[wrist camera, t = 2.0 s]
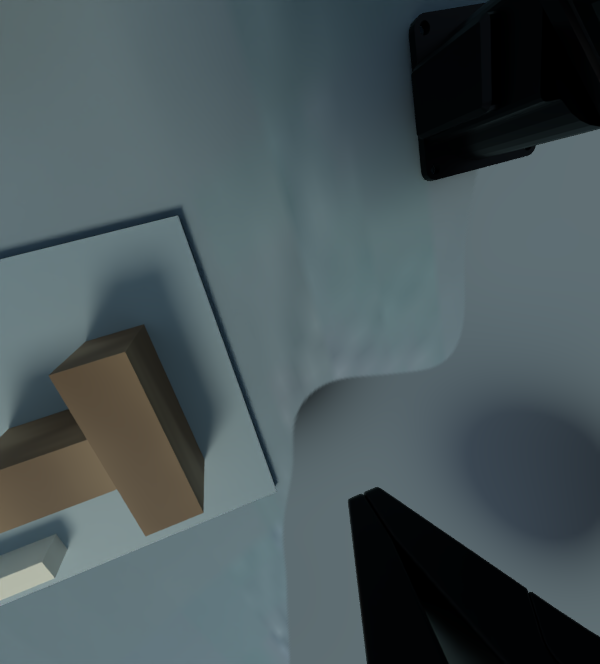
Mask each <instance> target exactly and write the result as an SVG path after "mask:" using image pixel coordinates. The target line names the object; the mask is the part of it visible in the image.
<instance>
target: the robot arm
mask: <svg viewBox="0 0 600 664" xmlns="http://www.w3.org/2000/svg"><path fill="white" fill-rule="evenodd" d="M420 26H421V27H422V28H423V29H424V35H422V34H421V33H420V29H419V28H420ZM409 41H410V52H411V63H412V86H413V97H414V108H415V119H416V130H417V135H418V140H419V151H420V163H421V173H422V177H423V178H424V179H425V180H427V181H433V180H438V179H441V178H445V177H449V176H453V175H456V174H460V173H464V172H468V171H472V170H475V169H479V168H483V167H487V166H490V165H494V164H498V163H502V162H505V161H509V160H513V159H517V158H520V157H524V156H528V155H530V154H531V153H532V152H533V151H534V149H535V146H536V145H539V144H543V143H546V142H550V141H554V140H558V139H562V138H566V137H570V136H574V135H578V134H581V133H586V132H589V131H593V130H597V129H600V0H489V1H488V2H487V3H482V4H475V5H469V6H463V7H457V8H451V9H445V10H439V11H433V12H427V13H422V14H420V15H419V16H418V17H417V18H416V19H415V20H414V21H413V22H412V24H411V26H410V29H409ZM524 148H525V149H524ZM432 165H433V166H434V168H435V171H434V173H433V174H432V172H431V166H432ZM348 507H349V514H350V524H351V532H352V541H353V549H354V557H355V566H356V574H357V583H358V592H359V600H360V608H361V617H362V626H363V634H364V642H365V651H366V660H367V664H600V637H599V636H598V635H596V634H594V633H593V632H591V631H589V630H588V629H586V628H585V627H583V626H582V625H580V624H579V623H577V622H576V621H574V620H573V619H571V618H570V617H568V616H567V615H565V614H564V613H562V612H561V611H559V610H558V609H556V608H554V607H553V606H552V605H550V604H549V603H547V602H546V601H544V600H543V599H541V598H540V597H539V596H537V595H536V594H534V593H533V592H529V593H528V590H527V589H526V588H525V587H524V586H522V585H521V584H519V583H518V582H516V581H515V580H514V579H512V578H511V577H509V576H508V575H506V574H505V573H503V572H502V571H500V570H499V569H498V568H496V567H495V566H493V565H492V564H490V563H489V562H487V561H486V560H484V559H483V558H481V557H480V556H479V555H477V554H476V553H474V552H473V551H471V550H470V549H468V548H467V547H465V546H464V545H463V544H461V543H460V542H458V541H457V540H455V539H454V538H452V537H451V536H449V535H448V534H447V533H445V532H443V531H442V530H441V529H439V528H438V527H436V526H434V525H433V524H432V523H430V522H429V521H428V520H426V519H425V518H423V517H422V516H420V515H419V514H417V513H416V512H414V511H413V510H412V509H410V508H408V507H407V506H406V505H404V504H403V503H401V502H400V501H398V500H397V499H396V498H394V497H392V496H391V495H390V494H388V493H387V492H385V491H384V490H382V489H381V488H379V487H375V488H373V489H370V490H368V491H366V492H364V495H363V494H359V495H357V496H354V497H352V498H350V499H349V500H348Z"/></svg>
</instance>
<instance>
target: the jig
mask: <svg viewBox="0 0 600 664" xmlns="http://www.w3.org/2000/svg"><path fill="white" fill-rule="evenodd" d="M143 324H144V326H145V328H146V330H147V332H148V334H149V337H150V339H151V341H152V343H153V346H154V348H155V350H156V352H157V355H158V357H159V359H160V361H161V363H162V366H163V368H164V370H165V372H166V375H167V377H168V379H169V381H170V384H171V386H172V388H173V390H174V393H175V395H176V397H177V399H178V401H179V404H180V406H181V408H182V410H183V413H184V415H185V417H186V419H187V422H188V424H189V426H190V428H191V431H192V433H193V435H194V437H195V439H196V442H197V444H198V446H199V448H200V451H201V453H202V455H203V457H204V460H205V466H204V513H202V514H200V515H197V516H195V517H192V518H190V519H187V520H185V521H182V522H180V523H178V524H175V525H173V526H170V527H168V528H165V529H163V530H160V531H158V532H155V533H153V534H150V535H148V536H146V537H145V535H144V533H143V532H142V530H141V528H140V527H139V525H138V523H137V522H136V520H135V518H134V517H133V515H132V513H131V512H130V510H129V508H128V507H127V505H126V503H125V502H124V500H123V498H122V497H121V495H120V493H119V492H118V490H114V491H112V492H109V493H106V494H104V495H101V496H98V497H96V498H93V499H90V500H88V501H85V502H82V503H80V504H77V505H75V506H72V507H69V508H67V509H64V510H61V511H59V512H56V513H53V514H51V515H48V516H45V517H43V518H40V519H37V520H35V521H32V522H29V523H27V524H24V525H22V526H19V527H16V528H14V529H11V530H8V531H6V532H3V533H0V606H1V605H4V604H6V603H8V602H11V601H13V600H16V599H18V598H21V597H23V596H25V595H28V594H30V593H33V592H35V591H38V590H40V589H42V588H45V587H47V586H50V585H52V584H55V583H57V582H59V581H62V580H64V579H67V578H69V577H72V576H74V575H76V574H79V573H81V572H84V571H86V570H88V569H91V568H93V567H96V566H98V565H101V564H103V563H105V562H108V561H110V560H113V559H115V558H118V557H120V556H122V555H125V554H127V553H130V552H132V551H135V550H137V549H139V548H142V547H144V546H147V545H149V544H152V543H154V542H156V541H159V540H161V539H164V538H166V537H169V536H171V535H173V534H176V533H178V532H181V531H183V530H186V529H188V528H190V527H193V526H195V525H198V524H200V523H203V522H205V521H207V520H210V519H212V518H215V517H217V516H220V515H222V514H224V513H227V512H229V511H232V510H234V509H237V508H239V507H241V506H244V505H246V504H249V503H251V502H254V501H256V500H258V499H261V498H263V497H266V496H268V495H271V494H273V493H275V492H277V491H276V487H275V484H274V481H273V478H272V476H271V473H270V470H269V467H268V464H267V462H266V459H265V456H264V453H263V451H262V448H261V445H260V442H259V439H258V437H257V434H256V431H255V428H254V425H253V423H252V420H251V417H250V414H249V411H248V409H247V406H246V403H245V400H244V397H243V395H242V392H241V389H240V386H239V383H238V381H237V378H236V375H235V372H234V369H233V367H232V364H231V361H230V358H229V355H228V353H227V350H226V347H225V344H224V341H223V339H222V336H221V333H220V330H219V327H218V325H217V322H216V319H215V316H214V313H213V311H212V308H211V305H210V302H209V299H208V297H207V294H206V291H205V288H204V285H203V283H202V280H201V277H200V274H199V271H198V269H197V266H196V263H195V260H194V257H193V255H192V252H191V249H190V246H189V243H188V241H187V238H186V235H185V232H184V230H183V227H182V224H181V221H180V218H179V216H178V215H177V216H173V217H169V218H165V219H161V220H157V221H153V222H149V223H145V224H141V225H137V226H133V227H129V228H125V229H121V230H117V231H113V232H109V233H105V234H101V235H97V236H93V237H89V238H85V239H80V240H76V241H72V242H68V243H64V244H60V245H56V246H52V247H48V248H44V249H40V250H36V251H32V252H28V253H24V254H20V255H16V256H12V257H8V258H4V259H0V437H1V436H2V435H3V434H4V433H5V432H6V431H7V430H8V429H9V428H13V427H16V426H19V425H22V424H25V423H28V422H31V421H34V420H37V419H40V418H43V417H46V416H49V415H52V414H55V413H58V412H61V411H64V410H67V409H68V407H67V405H66V404H65V402H64V401H63V399H62V397H61V396H60V394H59V392H58V391H57V389H56V387H55V386H54V384H53V382H52V381H51V379H50V377H49V376H48V375H49V374H51V373H52V372H53V371H54V370H55V369H56V368H57V367H58V366H59V365H60V364H62V363H63V362H64V361H65V360H66V359H67V358H68V357H69V356H70V355H71V354H73V353H74V352H75V351H76V350H77V349H78V348H79V347H80V346H81V345H82V344H83V343H85V342H86V341H89V340H93V339H96V338H99V337H103V336H106V335H109V334H113V333H116V332H119V331H123V330H126V329H129V328H133V327H136V326H139V325H143Z"/></svg>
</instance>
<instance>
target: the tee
mask: <svg viewBox="0 0 600 664" xmlns="http://www.w3.org/2000/svg"><path fill="white" fill-rule="evenodd" d="M48 376H49V377H50V379H51V381H52V382H53V384H54V386H55V387H56V389H57V391H58V392H59V394H60V396H61V397H62V399H63V401H64V402H65V404H66V405H67V407H68V409H67V410H64V411H61V412H58V413H55V414H52V415H49V416H46V417H43V418H40V419H37V420H34V421H31V422H28V423H25V424H22V425H19V426H16V427H13V428H9V429H8V430H7V431H6V432H5V433H4V434H3V435H2V436H1V437H0V533H3V532H6V531H8V530H11V529H14V528H16V527H19V526H22V525H24V524H27V523H29V522H32V521H35V520H37V519H40V518H43V517H45V516H48V515H51V514H53V513H56V512H59V511H61V510H64V509H67V508H69V507H72V506H75V505H77V504H80V503H82V502H85V501H88V500H90V499H93V498H96V497H98V496H101V495H104V494H106V493H109V492H112V491H114V490H118V492H119V493H120V495H121V497H122V498H123V500H124V502H125V503H126V505H127V507H128V508H129V510H130V512H131V513H132V515H133V517H134V518H135V520H136V522H137V523H138V525H139V527H140V528H141V530H142V532H143V533H144V535H145V537H146V536H148V535H150V534H153V533H155V532H158V531H160V530H163V529H165V528H168V527H170V526H173V525H175V524H178V523H180V522H182V521H185V520H187V519H190V518H192V517H195V516H197V515H200V514H202V513H204V466H205V460H204V457H203V455H202V453H201V451H200V448H199V446H198V444H197V442H196V439H195V437H194V435H193V433H192V431H191V428H190V426H189V424H188V422H187V419H186V417H185V415H184V413H183V410H182V408H181V406H180V404H179V401H178V399H177V397H176V395H175V393H174V390H173V388H172V386H171V384H170V381H169V379H168V377H167V375H166V372H165V370H164V368H163V366H162V363H161V361H160V359H159V357H158V355H157V352H156V350H155V348H154V346H153V343H152V341H151V339H150V337H149V334H148V332H147V330H146V328H145V326H144V324H143V325H139V326H136V327H133V328H129V329H126V330H123V331H119V332H116V333H113V334H109V335H106V336H103V337H99V338H96V339H93V340H89V341H86V342H85V343H83V344H82V345H81V346H80V347H79V348H78V349H77V350H76V351H75V352H74V353H73V354H71V355H70V356H69V357H68V358H67V359H66V360H65V361H64V362H63V363H62V364H60V365H59V366H58V367H57V368H56V369H55V370H54V371H53V372H52V373H51V374H49V375H48Z"/></svg>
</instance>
